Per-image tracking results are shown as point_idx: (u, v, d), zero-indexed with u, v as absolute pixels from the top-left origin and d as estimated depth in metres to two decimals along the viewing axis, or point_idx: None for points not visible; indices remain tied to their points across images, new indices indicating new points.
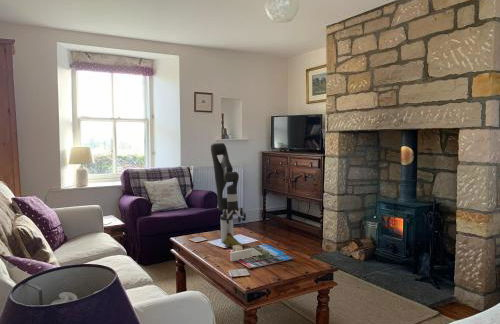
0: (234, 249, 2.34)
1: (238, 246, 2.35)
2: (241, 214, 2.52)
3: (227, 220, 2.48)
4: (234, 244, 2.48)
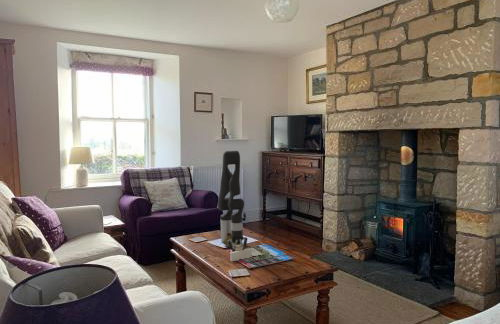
0: None
1: (238, 246, 2.35)
2: (244, 245, 2.36)
3: (233, 251, 2.34)
4: None
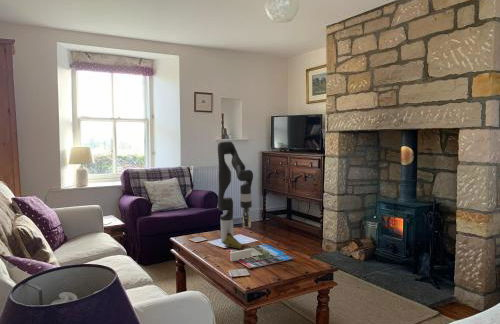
0: None
1: None
2: None
3: (247, 222, 2.34)
4: (234, 244, 2.48)
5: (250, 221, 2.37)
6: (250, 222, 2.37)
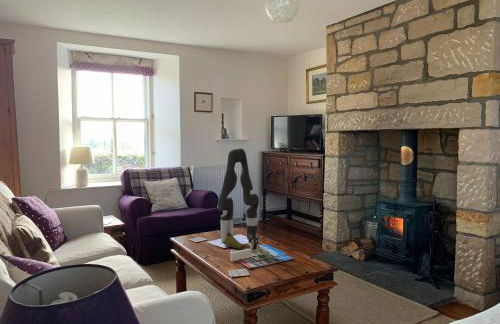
0: None
1: (252, 242, 2.40)
2: None
3: None
4: (234, 244, 2.48)
5: None
6: None
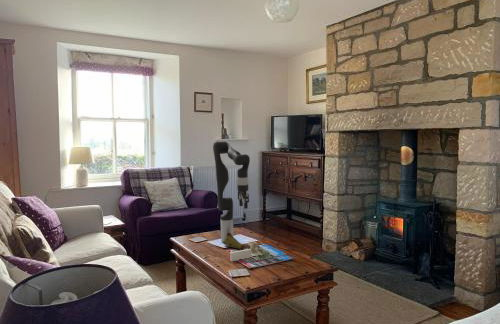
0: (255, 245, 2.38)
1: (252, 242, 2.40)
2: None
3: (247, 204, 2.39)
4: (234, 244, 2.48)
5: None
6: None
